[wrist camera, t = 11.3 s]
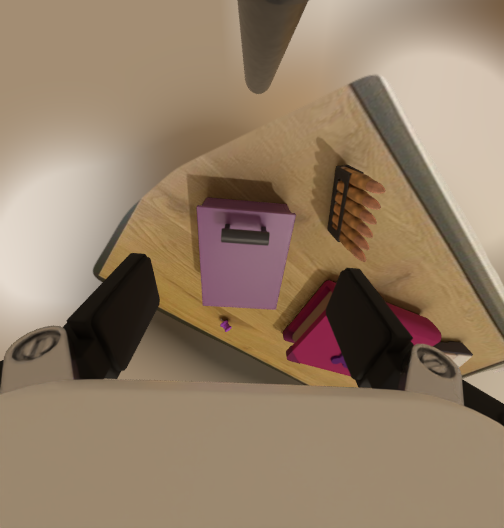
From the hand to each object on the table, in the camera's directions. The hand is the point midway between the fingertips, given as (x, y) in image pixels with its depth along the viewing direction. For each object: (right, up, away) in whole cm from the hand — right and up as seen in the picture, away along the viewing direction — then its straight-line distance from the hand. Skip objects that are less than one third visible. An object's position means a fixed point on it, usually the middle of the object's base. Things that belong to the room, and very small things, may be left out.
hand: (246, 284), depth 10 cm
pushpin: (-6, -13, +40) cm, 42 cm away
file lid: (-1, +1, +22) cm, 23 cm away
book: (+25, -14, +41) cm, 50 cm away
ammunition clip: (+15, +12, +24) cm, 30 cm away
